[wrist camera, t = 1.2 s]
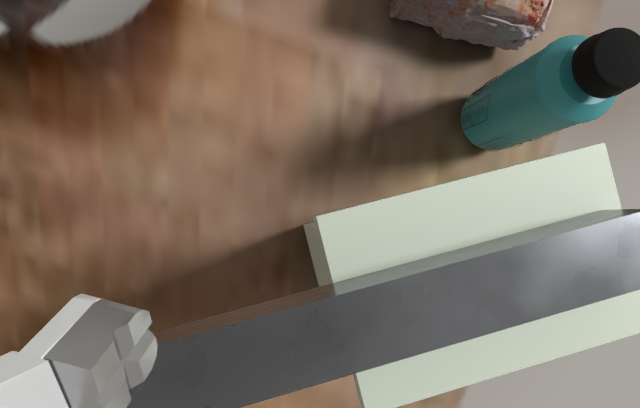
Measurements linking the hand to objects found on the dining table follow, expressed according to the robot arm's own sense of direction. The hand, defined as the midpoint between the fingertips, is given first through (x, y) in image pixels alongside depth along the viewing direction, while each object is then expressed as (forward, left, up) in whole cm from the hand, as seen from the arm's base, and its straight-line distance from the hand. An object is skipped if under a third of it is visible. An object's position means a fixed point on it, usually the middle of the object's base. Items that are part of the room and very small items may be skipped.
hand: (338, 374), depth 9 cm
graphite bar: (0, +4, -12) cm, 12 cm away
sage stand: (-1, +8, -38) cm, 39 cm away
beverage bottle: (-15, +19, -38) cm, 45 cm away
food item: (-26, +15, -38) cm, 48 cm away
